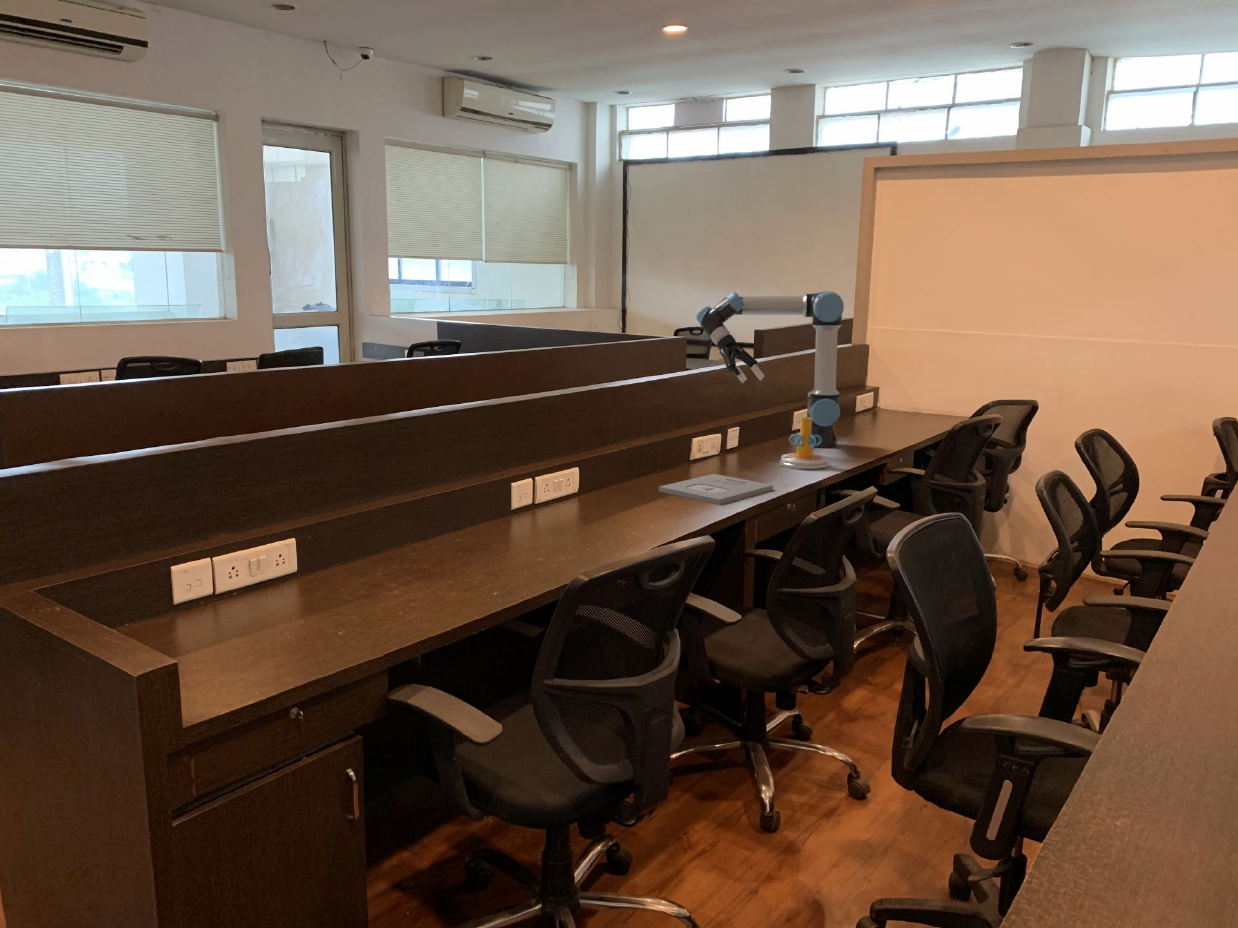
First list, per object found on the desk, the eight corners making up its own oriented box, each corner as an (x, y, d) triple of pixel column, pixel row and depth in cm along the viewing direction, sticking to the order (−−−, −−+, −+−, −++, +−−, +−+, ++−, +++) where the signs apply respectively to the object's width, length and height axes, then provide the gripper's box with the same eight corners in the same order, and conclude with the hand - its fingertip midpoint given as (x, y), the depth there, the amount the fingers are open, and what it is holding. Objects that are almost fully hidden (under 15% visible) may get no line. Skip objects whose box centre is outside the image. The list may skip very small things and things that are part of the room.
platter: (818, 457, 361) (819, 452, 360) (833, 465, 344) (833, 461, 344) (776, 457, 359) (776, 452, 359) (788, 465, 342) (788, 461, 342)
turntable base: (819, 460, 362) (819, 456, 361) (834, 470, 344) (834, 466, 344) (774, 460, 360) (774, 457, 359) (787, 470, 342) (787, 466, 342)
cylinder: (819, 454, 356) (821, 416, 353) (822, 460, 346) (824, 420, 343) (786, 453, 357) (788, 415, 354) (789, 458, 347) (791, 419, 344)
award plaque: (772, 491, 310) (772, 484, 310) (719, 506, 288) (719, 499, 288) (713, 479, 326) (713, 473, 326) (658, 492, 305) (659, 486, 304)
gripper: (734, 344, 388) (763, 383, 382) (700, 347, 369) (730, 388, 363) (745, 332, 384) (775, 371, 378) (712, 334, 365) (743, 375, 359)
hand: (753, 379), depth 370 cm, fingers open, 13 cm apart
